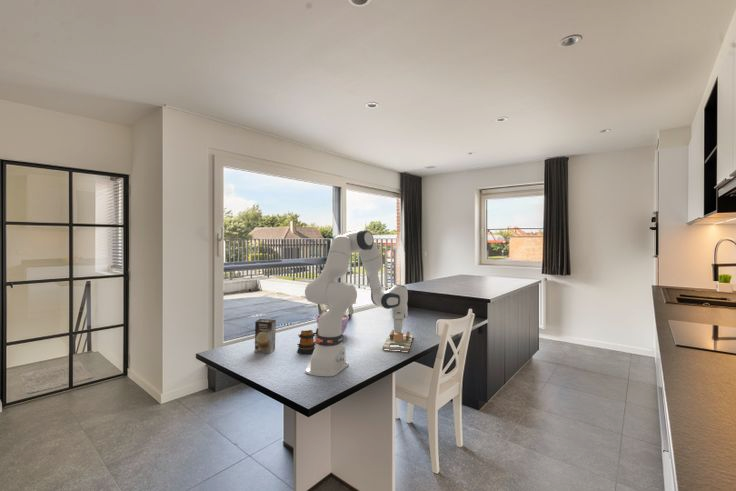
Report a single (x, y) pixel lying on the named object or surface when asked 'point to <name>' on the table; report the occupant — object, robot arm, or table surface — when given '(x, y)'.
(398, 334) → the block
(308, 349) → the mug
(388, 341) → the tunnel board
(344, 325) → the bowl of food
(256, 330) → the coffee box
